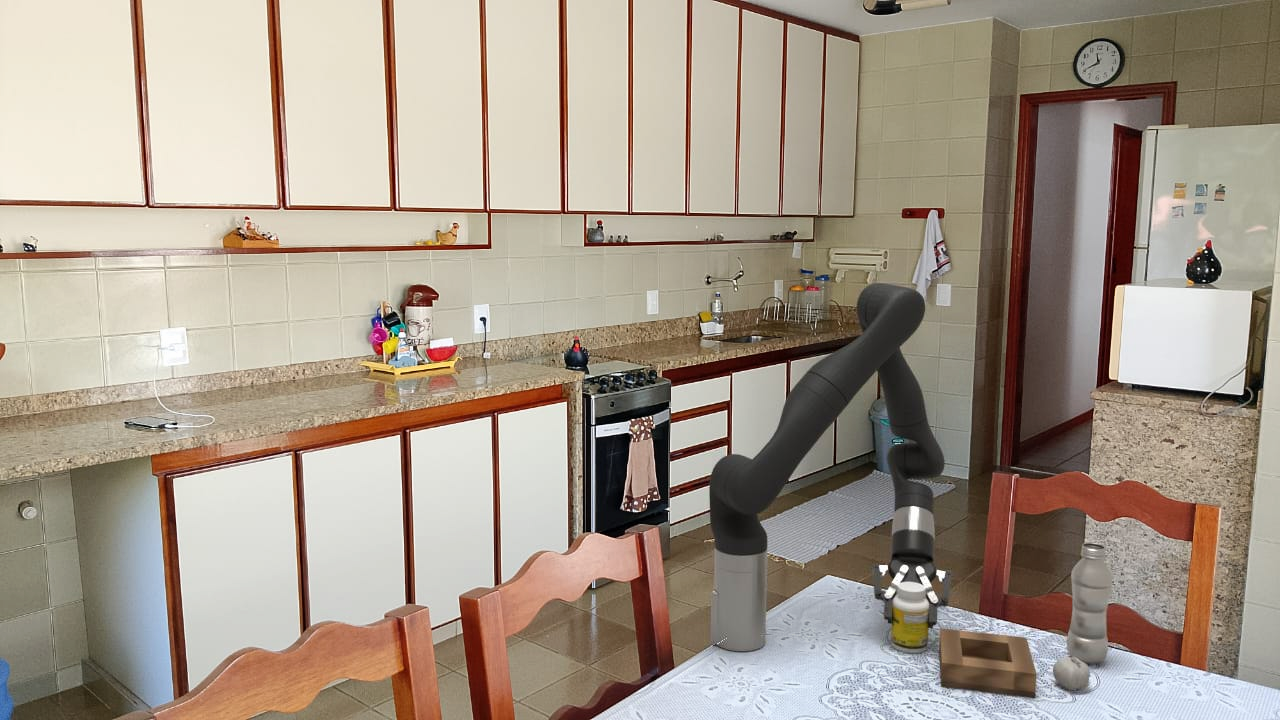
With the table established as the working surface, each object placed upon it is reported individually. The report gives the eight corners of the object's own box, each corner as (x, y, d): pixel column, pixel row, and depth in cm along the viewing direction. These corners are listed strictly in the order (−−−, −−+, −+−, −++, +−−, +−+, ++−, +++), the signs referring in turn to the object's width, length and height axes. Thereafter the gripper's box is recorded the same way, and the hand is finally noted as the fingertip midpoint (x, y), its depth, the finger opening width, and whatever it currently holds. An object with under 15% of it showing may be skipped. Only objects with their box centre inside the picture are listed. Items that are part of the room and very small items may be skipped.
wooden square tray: (941, 686, 153) (942, 662, 152) (938, 650, 166) (939, 628, 165) (1035, 698, 149) (1036, 673, 148) (1025, 660, 162) (1026, 637, 162)
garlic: (1093, 696, 149) (1095, 665, 149) (1056, 693, 151) (1058, 662, 150) (1084, 679, 155) (1086, 649, 155) (1048, 676, 156) (1050, 646, 156)
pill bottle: (889, 637, 171) (892, 578, 169) (925, 641, 170) (928, 581, 168) (891, 652, 165) (894, 591, 163) (928, 656, 164) (931, 594, 162)
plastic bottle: (1066, 664, 160) (1073, 550, 158) (1064, 648, 167) (1071, 538, 164) (1108, 671, 158) (1116, 555, 155) (1105, 654, 164) (1113, 542, 162)
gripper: (872, 524, 174) (867, 610, 164) (955, 531, 170) (955, 620, 160) (872, 543, 180) (867, 628, 170) (952, 550, 176) (952, 637, 166)
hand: (910, 623), depth 165 cm, fingers closed on pill bottle, 6 cm apart
